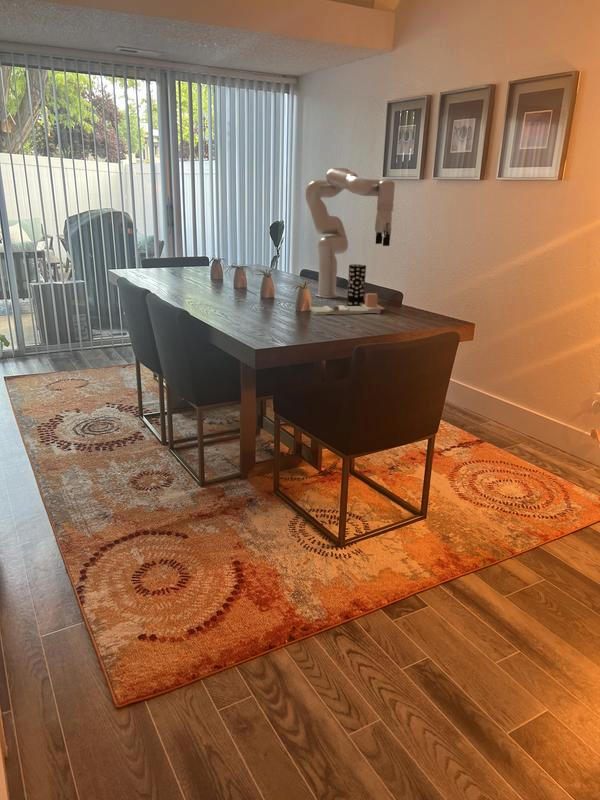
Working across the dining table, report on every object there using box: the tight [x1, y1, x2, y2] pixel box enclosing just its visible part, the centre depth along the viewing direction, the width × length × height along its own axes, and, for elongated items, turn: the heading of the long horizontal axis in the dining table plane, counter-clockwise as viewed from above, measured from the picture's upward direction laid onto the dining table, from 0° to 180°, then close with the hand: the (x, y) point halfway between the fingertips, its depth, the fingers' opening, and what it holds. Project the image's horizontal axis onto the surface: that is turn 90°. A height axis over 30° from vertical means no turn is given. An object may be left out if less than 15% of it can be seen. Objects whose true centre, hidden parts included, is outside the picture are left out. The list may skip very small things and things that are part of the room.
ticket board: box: [309, 301, 382, 316], centre depth 287 cm, size 12×32×4 cm, turn 104°
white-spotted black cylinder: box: [346, 264, 367, 306], centre depth 299 cm, size 8×8×20 cm
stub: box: [361, 292, 385, 310], centre depth 289 cm, size 10×8×7 cm
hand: (382, 244), depth 292 cm, fingers open, 9 cm apart
